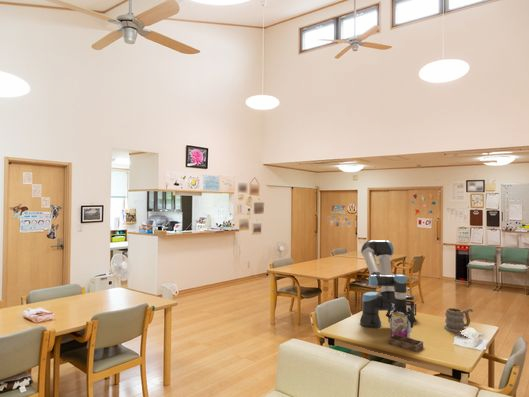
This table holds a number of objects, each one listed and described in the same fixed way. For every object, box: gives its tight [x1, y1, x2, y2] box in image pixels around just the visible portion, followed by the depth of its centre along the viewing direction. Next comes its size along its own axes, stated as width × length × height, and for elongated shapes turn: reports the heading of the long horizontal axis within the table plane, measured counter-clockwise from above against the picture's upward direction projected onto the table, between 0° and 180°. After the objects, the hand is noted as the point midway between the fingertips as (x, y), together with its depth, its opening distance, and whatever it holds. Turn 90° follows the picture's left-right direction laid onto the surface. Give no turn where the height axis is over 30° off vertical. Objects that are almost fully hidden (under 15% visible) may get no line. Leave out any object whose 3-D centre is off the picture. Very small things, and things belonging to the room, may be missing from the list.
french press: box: [406, 287, 417, 317], centre depth 301 cm, size 12×9×23 cm
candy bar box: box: [390, 311, 411, 338], centre depth 256 cm, size 11×5×16 cm, turn 51°
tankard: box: [443, 307, 474, 333], centre depth 273 cm, size 20×13×15 cm, turn 91°
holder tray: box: [387, 335, 424, 352], centre depth 241 cm, size 18×10×4 cm, turn 45°
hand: (400, 330), depth 255 cm, fingers open, 13 cm apart
